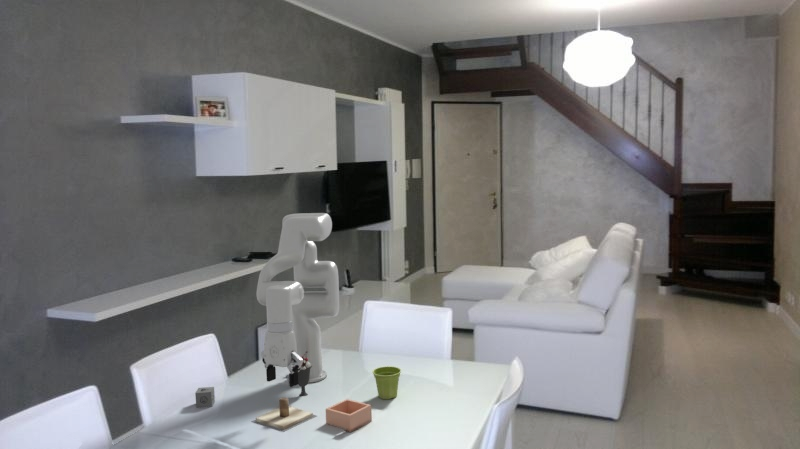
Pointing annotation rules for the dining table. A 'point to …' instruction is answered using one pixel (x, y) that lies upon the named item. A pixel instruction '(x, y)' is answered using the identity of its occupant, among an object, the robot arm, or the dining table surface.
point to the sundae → (304, 375)
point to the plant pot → (387, 381)
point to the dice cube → (205, 397)
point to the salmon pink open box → (349, 415)
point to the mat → (282, 429)
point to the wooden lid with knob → (284, 416)
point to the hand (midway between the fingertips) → (282, 382)
